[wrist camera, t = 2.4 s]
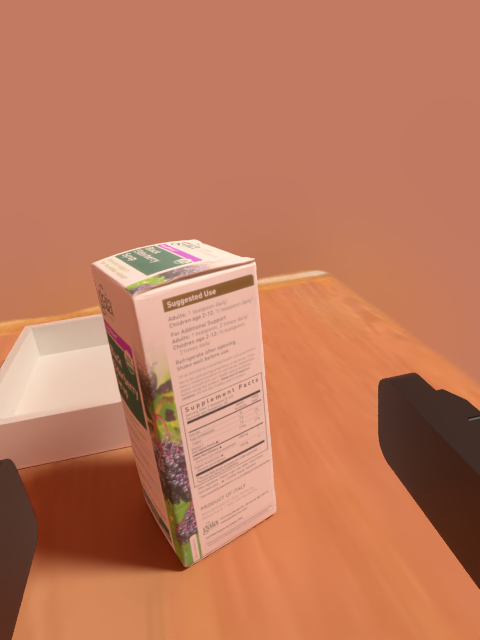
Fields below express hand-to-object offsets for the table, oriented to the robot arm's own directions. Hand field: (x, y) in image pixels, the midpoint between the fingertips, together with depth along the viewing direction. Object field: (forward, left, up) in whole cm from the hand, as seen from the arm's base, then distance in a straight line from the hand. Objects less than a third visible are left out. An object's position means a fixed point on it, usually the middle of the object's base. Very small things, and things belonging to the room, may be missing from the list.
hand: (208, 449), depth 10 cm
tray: (-6, +26, -13) cm, 30 cm away
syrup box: (0, +11, -13) cm, 18 cm away
